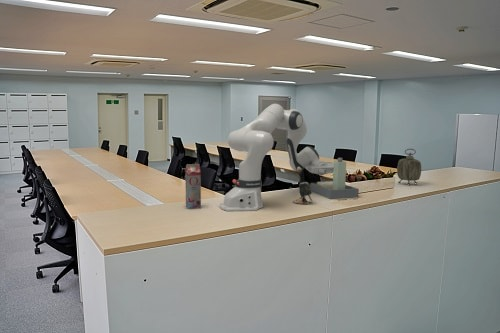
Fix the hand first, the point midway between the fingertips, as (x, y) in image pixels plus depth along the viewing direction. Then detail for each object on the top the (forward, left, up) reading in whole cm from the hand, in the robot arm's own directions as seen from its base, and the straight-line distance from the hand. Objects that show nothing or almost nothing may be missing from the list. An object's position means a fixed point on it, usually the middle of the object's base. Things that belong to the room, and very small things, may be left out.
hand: (332, 171), depth 230 cm
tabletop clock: (+70, +16, -15) cm, 73 cm away
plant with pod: (-26, -16, -15) cm, 34 cm away
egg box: (0, +3, -13) cm, 14 cm away
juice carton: (-84, -9, -15) cm, 86 cm away
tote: (0, -3, -14) cm, 15 cm away
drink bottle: (0, -9, -13) cm, 16 cm away
